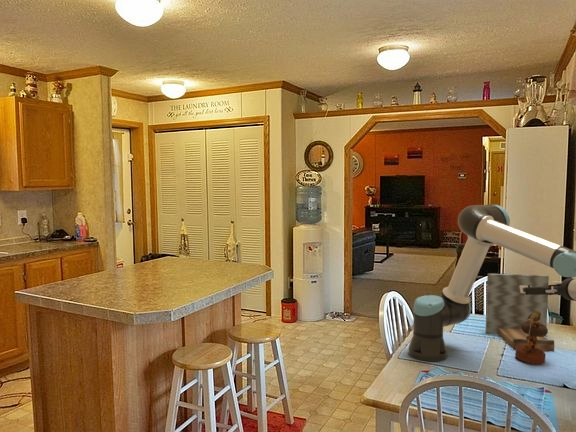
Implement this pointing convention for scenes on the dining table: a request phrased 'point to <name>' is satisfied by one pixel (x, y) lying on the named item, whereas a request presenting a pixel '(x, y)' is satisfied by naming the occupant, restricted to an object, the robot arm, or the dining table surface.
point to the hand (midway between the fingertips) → (537, 287)
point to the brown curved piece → (532, 340)
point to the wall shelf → (515, 308)
